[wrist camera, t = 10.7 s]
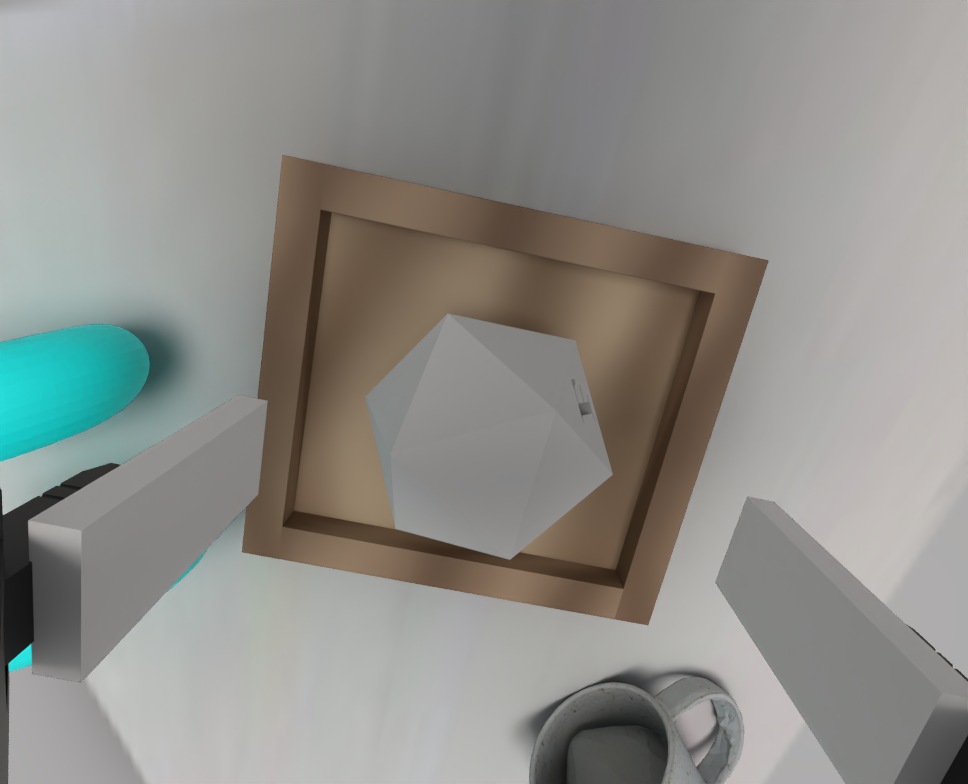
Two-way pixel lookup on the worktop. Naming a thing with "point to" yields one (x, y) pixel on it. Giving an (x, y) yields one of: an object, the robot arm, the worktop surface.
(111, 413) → the donuts
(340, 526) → the tray
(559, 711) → the ceramic mug
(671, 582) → the worktop surface
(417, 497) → the die
